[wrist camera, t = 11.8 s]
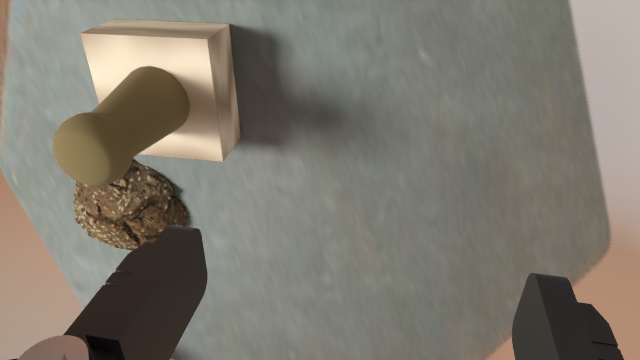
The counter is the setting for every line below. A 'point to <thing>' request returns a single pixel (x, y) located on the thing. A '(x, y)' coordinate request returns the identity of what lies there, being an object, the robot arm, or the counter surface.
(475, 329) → the counter surface
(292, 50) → the counter surface
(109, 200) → the bread roll
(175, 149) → the ash block
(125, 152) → the olive knobbed peg
